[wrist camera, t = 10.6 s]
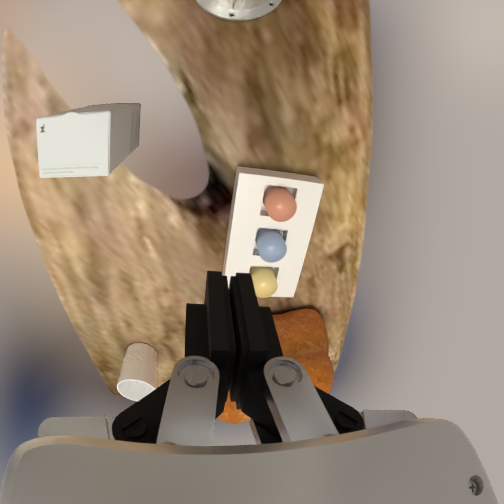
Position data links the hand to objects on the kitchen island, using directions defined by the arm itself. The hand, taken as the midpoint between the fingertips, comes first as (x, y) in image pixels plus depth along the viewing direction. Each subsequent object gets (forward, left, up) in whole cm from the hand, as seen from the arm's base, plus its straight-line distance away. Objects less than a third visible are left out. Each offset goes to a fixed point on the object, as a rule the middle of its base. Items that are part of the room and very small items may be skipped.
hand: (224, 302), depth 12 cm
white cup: (+43, -11, -33) cm, 55 cm away
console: (+13, +10, -33) cm, 37 cm away
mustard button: (+20, +10, -31) cm, 38 cm away
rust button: (+7, +10, -31) cm, 33 cm away
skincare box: (-2, -14, -33) cm, 36 cm away
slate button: (+13, +10, -31) cm, 35 cm away
